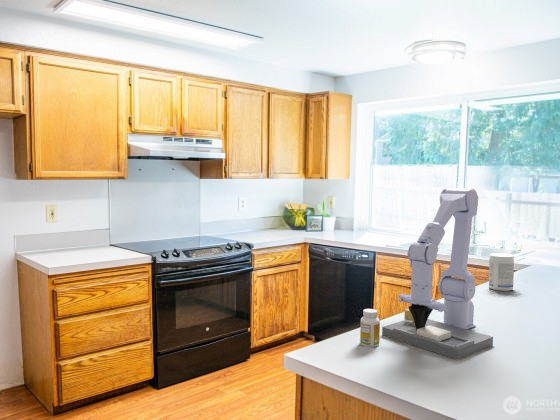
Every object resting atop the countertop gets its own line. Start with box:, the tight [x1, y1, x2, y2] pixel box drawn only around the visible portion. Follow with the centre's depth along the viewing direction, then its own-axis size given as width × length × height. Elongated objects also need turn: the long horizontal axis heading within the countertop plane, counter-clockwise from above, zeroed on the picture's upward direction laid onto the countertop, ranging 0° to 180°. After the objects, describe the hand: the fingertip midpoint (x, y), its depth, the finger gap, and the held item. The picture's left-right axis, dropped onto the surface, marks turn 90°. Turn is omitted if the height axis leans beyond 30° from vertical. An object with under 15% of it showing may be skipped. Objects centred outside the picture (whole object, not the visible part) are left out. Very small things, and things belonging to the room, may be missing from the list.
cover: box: [417, 325, 451, 341], centre depth 136 cm, size 6×7×2 cm
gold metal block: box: [403, 308, 415, 324], centre depth 149 cm, size 4×2×4 cm, turn 59°
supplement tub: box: [488, 252, 515, 292], centre depth 205 cm, size 10×10×15 cm
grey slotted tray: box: [381, 318, 494, 361], centre depth 141 cm, size 18×25×4 cm
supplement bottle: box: [359, 308, 381, 348], centre depth 137 cm, size 5×5×10 cm
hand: (420, 330), depth 139 cm, fingers closed
